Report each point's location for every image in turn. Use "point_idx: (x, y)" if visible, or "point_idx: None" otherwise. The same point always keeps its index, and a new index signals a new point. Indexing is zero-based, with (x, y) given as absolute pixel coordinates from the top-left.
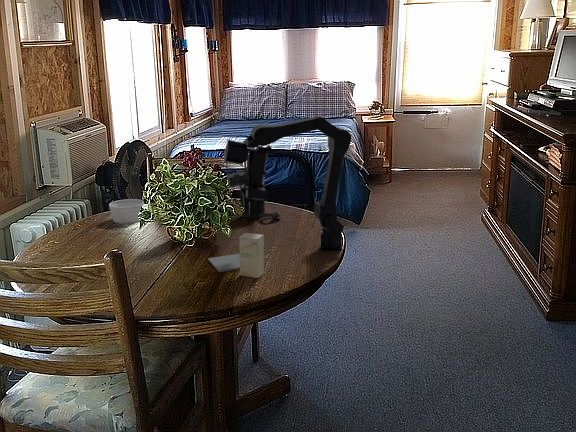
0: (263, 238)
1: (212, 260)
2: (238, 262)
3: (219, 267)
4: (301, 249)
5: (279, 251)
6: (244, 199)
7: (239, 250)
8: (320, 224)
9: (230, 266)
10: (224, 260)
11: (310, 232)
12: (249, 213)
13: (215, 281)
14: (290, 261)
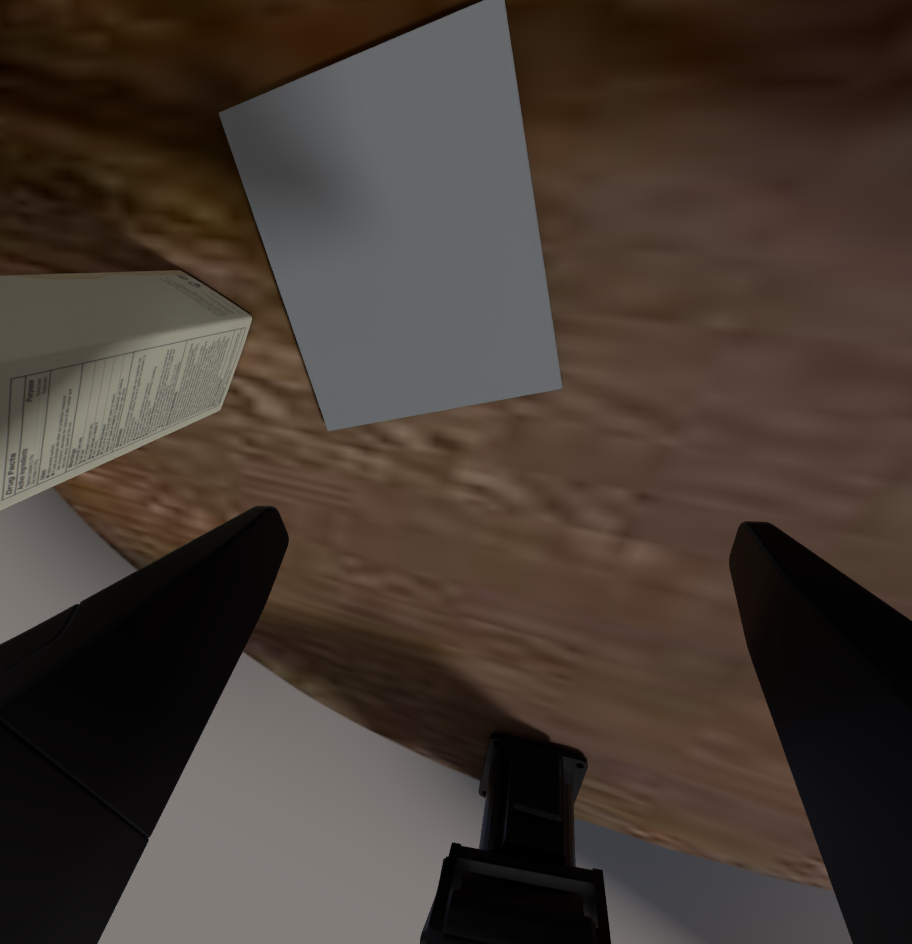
0: (4, 504)
1: (438, 46)
2: (363, 280)
3: (278, 118)
4: (546, 664)
5: (549, 562)
6: (895, 709)
7: (18, 275)
8: (491, 884)
9: (294, 213)
10: (420, 168)
11: None
12: (193, 542)
13: (85, 88)
14: (377, 570)
